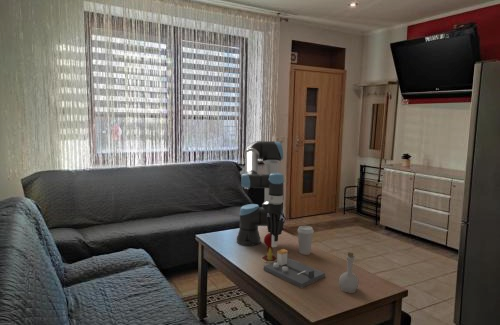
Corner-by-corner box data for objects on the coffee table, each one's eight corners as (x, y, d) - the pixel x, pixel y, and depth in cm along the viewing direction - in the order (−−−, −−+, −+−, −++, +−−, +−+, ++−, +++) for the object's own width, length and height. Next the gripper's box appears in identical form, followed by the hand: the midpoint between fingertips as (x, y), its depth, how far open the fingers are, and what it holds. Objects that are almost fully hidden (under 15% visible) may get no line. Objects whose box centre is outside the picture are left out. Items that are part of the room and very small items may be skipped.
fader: (276, 263, 180) (277, 251, 179) (282, 261, 183) (283, 248, 182) (281, 265, 178) (281, 252, 177) (287, 263, 181) (287, 250, 180)
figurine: (279, 262, 187) (280, 236, 185) (260, 262, 187) (261, 235, 185) (277, 256, 196) (278, 231, 194) (260, 256, 196) (261, 230, 194)
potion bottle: (334, 289, 160) (337, 251, 157) (345, 283, 166) (347, 246, 164) (352, 296, 153) (354, 257, 151) (362, 289, 160) (364, 252, 157)
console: (263, 269, 178) (263, 260, 178) (286, 260, 190) (287, 252, 190) (301, 287, 160) (302, 277, 159) (324, 276, 172) (325, 267, 171)
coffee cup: (312, 250, 207) (313, 225, 205) (313, 256, 198) (314, 230, 196) (296, 249, 208) (297, 224, 206) (296, 255, 199) (297, 229, 197)
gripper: (261, 201, 183) (260, 244, 186) (279, 206, 174) (278, 251, 176) (271, 199, 188) (270, 241, 191) (289, 204, 179) (288, 248, 181)
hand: (274, 246), depth 184 cm, fingers closed
